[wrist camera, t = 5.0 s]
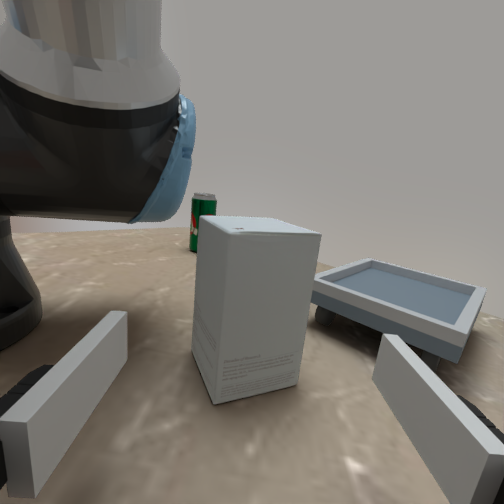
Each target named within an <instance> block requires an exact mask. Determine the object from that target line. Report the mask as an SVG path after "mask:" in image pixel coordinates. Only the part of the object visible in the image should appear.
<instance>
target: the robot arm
mask: <svg viewBox="0 0 504 504" xmlns="http://www.w3.org/2000/svg"><path fill="white" fill-rule="evenodd" d="M161 1H162V0H2V3H3V6H4V9H5V12H6V19H5V21H4V23H3V24H2V25H1V26H0V350H2V349H4V348H6V347H7V346H9V345H11V344H13V343H15V342H16V341H18V340H19V339H21V338H22V337H24V336H25V335H27V334H28V333H29V332H30V331H31V330H33V329H34V328H35V327H36V325H37V324H38V323H39V321H40V320H41V317H42V305H41V296H40V292H39V289H38V288H37V286H36V284H35V282H34V280H33V278H32V277H31V275H30V273H29V271H28V269H27V267H26V265H25V264H24V262H23V260H22V258H21V256H20V254H19V253H18V251H17V249H16V247H15V245H14V243H13V240H12V234H11V226H10V216H24V217H41V218H58V219H73V220H90V221H105V222H106V221H107V222H122V223H127V224H133V223H136V222H162V221H165V220H168V219H170V218H171V217H172V216H173V215H174V214H175V213H176V212H177V210H178V209H179V207H180V204H181V202H182V200H183V197H184V194H185V191H186V187H187V183H188V179H189V175H190V170H191V163H192V160H191V154H192V151H193V147H194V142H195V132H196V116H195V110H194V105H193V103H192V102H191V101H190V100H189V99H187V98H185V97H184V96H183V95H180V94H179V91H180V76H179V74H178V71H177V70H176V68H175V67H174V65H173V64H172V63H171V61H170V60H169V59H168V57H167V56H166V54H165V53H164V52H163V50H162V49H161V46H160V37H161V36H160V35H161ZM126 361H127V312H125V311H113V310H112V311H110V312H109V313H108V314H107V315H106V316H105V317H104V318H103V319H102V320H101V321H100V322H99V323H98V324H97V325H96V326H95V327H94V328H93V329H92V330H91V331H90V332H89V333H88V334H87V335H86V336H85V337H84V338H82V339H81V340H80V341H79V342H78V343H77V344H76V345H75V346H74V347H73V348H72V349H71V350H70V351H69V352H68V353H67V354H66V355H65V356H64V357H63V358H62V359H61V360H60V361H59V362H58V363H57V364H56V365H43V366H41V367H39V368H37V369H35V370H34V371H32V372H30V373H28V374H27V375H26V376H25V377H24V378H23V379H22V380H21V381H19V382H18V383H17V385H15V386H14V387H13V388H12V389H10V390H9V391H8V393H7V394H5V395H4V396H3V397H1V398H0V489H1V488H2V487H3V486H4V484H5V483H7V490H8V497H17V498H36V497H37V495H38V494H39V492H40V491H41V489H42V488H43V486H44V485H45V483H46V482H47V480H48V479H49V477H50V476H51V474H52V473H53V471H54V470H55V468H56V467H57V465H58V463H59V462H60V460H61V459H62V457H63V456H64V454H65V453H66V451H67V450H68V448H69V447H70V445H71V444H72V442H73V441H74V439H75V438H76V436H77V435H78V433H79V432H80V430H81V429H82V427H83V426H84V424H85V423H86V421H87V420H88V418H89V417H90V415H91V414H92V412H93V411H94V409H95V408H96V406H97V405H98V403H99V402H100V400H101V399H102V397H103V396H104V394H105V393H106V391H107V390H108V388H109V387H110V385H111V384H112V382H113V381H114V379H115V378H116V376H117V375H118V373H119V372H120V370H121V369H122V367H123V366H124V364H125V363H126ZM372 380H373V382H374V383H375V385H376V386H377V388H378V390H379V391H380V393H381V394H382V396H383V397H384V399H385V401H386V402H387V404H388V405H389V407H390V409H391V410H392V412H393V413H394V415H395V417H396V418H397V420H398V421H399V423H400V424H401V426H402V428H403V429H404V431H405V432H406V434H407V436H408V437H409V439H410V440H411V442H412V444H413V445H414V447H415V448H416V450H417V451H418V453H419V455H420V456H421V458H422V459H423V461H424V463H425V464H426V466H427V467H428V469H429V471H430V472H431V474H432V475H433V477H434V478H435V480H436V482H437V483H438V485H439V486H440V488H441V490H442V491H443V493H444V494H445V496H446V497H447V499H448V501H449V502H450V504H504V434H503V433H502V432H501V431H500V430H499V429H496V426H495V425H494V424H493V423H492V422H491V421H490V420H489V419H486V416H485V415H484V414H483V413H482V412H481V411H480V410H479V409H478V408H477V407H476V406H475V405H473V404H472V403H470V402H469V401H467V400H466V399H464V398H463V397H461V396H459V395H455V394H454V393H453V392H452V391H451V390H450V389H449V388H448V387H447V386H446V385H445V384H444V383H443V382H442V381H441V379H440V378H439V377H438V376H437V375H436V374H435V373H434V372H433V371H432V370H431V369H430V368H429V367H428V366H427V365H426V364H425V363H424V362H423V361H422V360H421V359H420V358H419V357H418V356H417V355H416V354H415V353H414V352H413V351H412V350H411V349H410V348H409V347H408V346H407V345H406V344H405V342H404V341H403V340H402V339H401V338H400V337H399V336H398V335H393V334H383V335H382V339H381V343H380V347H379V351H378V355H377V359H376V363H375V368H374V372H373V376H372Z"/></svg>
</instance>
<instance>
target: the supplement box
mask: <svg viewBox="0 0 504 504" xmlns="http://www.w3.org/2000/svg"><path fill="white" fill-rule="evenodd" d="M321 236H322V234H321V233H318V232H315V231H312V230H308V229H305V228H302V227H299V226H296V225H292V224H289V223H286V222H283V221H280V220H277V219H274V218H259V217H237V216H200V217H199V230H198V244H197V262H196V280H195V298H194V316H193V331H192V347H191V349H192V352H193V355H194V358H195V360H196V363H197V365H198V368H199V370H200V373H201V375H202V378H203V380H204V383H205V385H206V388H207V390H208V392H209V395H210V397H211V400H212V403H213V404H219V403H224V402H228V401H232V400H236V399H240V398H245V397H249V396H253V395H257V394H262V393H266V392H270V391H274V390H278V389H282V388H286V387H290V386H293V385H296V384H297V382H298V377H299V371H300V364H301V359H302V353H303V346H304V340H305V334H306V328H307V321H308V315H309V309H310V302H311V296H312V290H313V284H314V278H315V271H316V265H317V259H318V253H319V247H320V241H321Z"/></svg>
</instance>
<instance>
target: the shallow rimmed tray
mask: <svg viewBox="0 0 504 504" xmlns="http://www.w3.org/2000/svg"><path fill="white" fill-rule="evenodd" d="M486 291H487V288H483V287H479V286H475V285H472V284H468V283H464V282H460V281H456V280H452V279H448V278H445V277H441V276H437V275H433V274H429V273H426V272H422V271H417V270H414V269H410V268H406V267H402V266H398V265H394V264H391V263H387V262H383V261H379V260H375V259H371V258H366V259H362V260H359V261H356V262H353V263H349V264H347V265H343V266H340V267H337V268H333V269H330V270H327V271H324V272H321V273H317V274H315V278H314V284H313V290H312V296H311V303H313V304H316V305H318V307H317V309H316V313H315V319H316V321H317V322H319V323H322V324H324V325H326V326H328V325H330V324H331V323H332V321H333V320H334V318H335V316H336V313H337V314H339V315H342V316H344V317H347V318H349V319H351V320H354V321H356V322H358V323H361V324H363V325H366V326H368V327H370V328H373V329H375V330H377V331H380V332H382V333H385V334H393V335H398V336H399V337H400V338H401V339H402V340H403V341H404V342H406V343H408V344H411V345H413V346H415V347H418V348H420V349H422V350H423V353H422V356H421V360H422V361H423V362H424V363H425V364H426V365H427V366H428V367H429V368H430V369H431V370H432V371H433V372H434V373H435V372H436V370H437V368H438V365H439V362H440V359H441V358H444V359H446V360H449V361H451V362H453V363H456V364H458V361H459V359H460V356H461V354H462V352H463V349H464V347H465V345H466V342H467V340H468V337H469V335H470V333H471V330H472V328H473V325H474V323H475V321H476V318H477V316H478V313H479V311H480V308H481V306H482V303H483V300H484V297H485V294H486Z"/></svg>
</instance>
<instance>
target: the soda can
mask: <svg viewBox="0 0 504 504" xmlns="http://www.w3.org/2000/svg"><path fill="white" fill-rule="evenodd" d="M216 204H217V201H216V198H215V195H213V194H206V193H194V196H193V197H192V206H191V225H190V244H189V248H190V249H191V251H193V252H196V253H197V244H198V230H199V217H200V216H216Z"/></svg>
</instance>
